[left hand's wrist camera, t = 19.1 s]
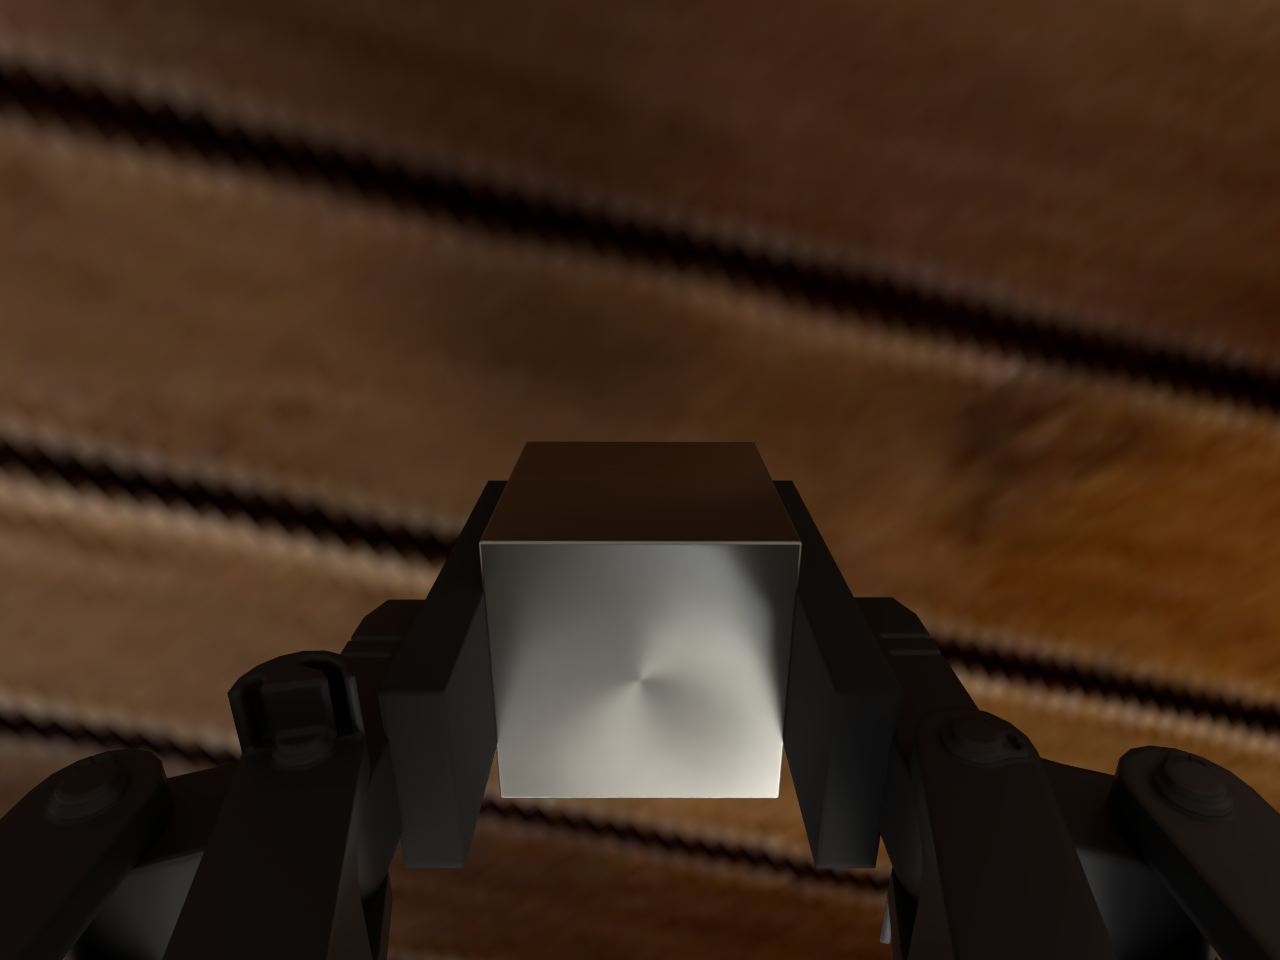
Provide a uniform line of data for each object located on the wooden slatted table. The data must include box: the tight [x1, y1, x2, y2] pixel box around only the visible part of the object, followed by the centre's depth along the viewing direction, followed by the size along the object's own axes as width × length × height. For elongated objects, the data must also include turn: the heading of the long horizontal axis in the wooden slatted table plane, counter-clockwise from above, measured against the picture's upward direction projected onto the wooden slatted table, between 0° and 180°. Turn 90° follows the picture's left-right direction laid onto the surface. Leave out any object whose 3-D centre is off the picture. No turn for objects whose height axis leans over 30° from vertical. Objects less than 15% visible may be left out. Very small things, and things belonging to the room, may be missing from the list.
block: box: [479, 442, 802, 798], centre depth 13 cm, size 4×5×4 cm
